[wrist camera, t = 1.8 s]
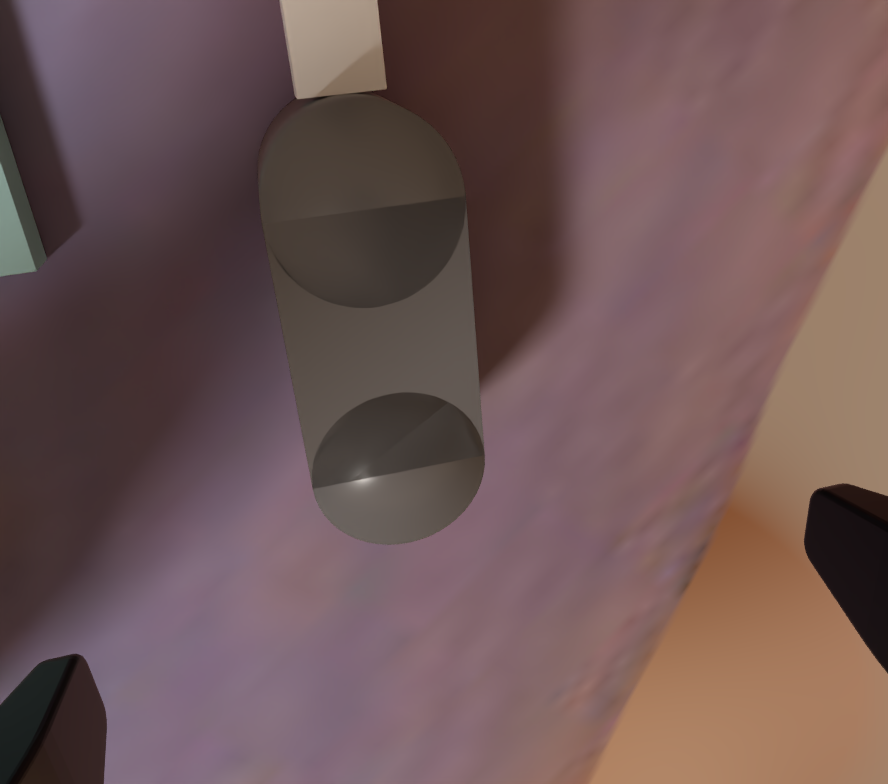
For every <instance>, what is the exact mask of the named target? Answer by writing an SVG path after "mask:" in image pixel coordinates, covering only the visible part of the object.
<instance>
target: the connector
mask: <svg viewBox="0 0 888 784" xmlns="http://www.w3.org/2000/svg"><path fill="white" fill-rule="evenodd" d="M279 1H280V8H281V14H282V20H283V26H284V32H285V39H286V45H287V51H288V57H289V63H290V70H291V76H292V82H293V88H294V94H295V97H296V99H294V100H293V101H291V102H290V103H289V104H287V105H286V106H285V107H284V108H283V109H282V110H281V111H280V112H279V113H278V115H277V116H276V117H275V118H274V119H273V121H272V122H271V124H270V126H269V127H268V129H267V131H266V133H265V136H264V138H263V140H262V143H261V147H260V151H259V156H258V167H257V176H258V189H259V202H260V213H261V221H262V228H263V233H264V238H265V243H266V248H267V254H268V259H269V264H270V269H271V274H272V280H273V285H274V290H275V295H276V300H277V305H278V311H279V316H280V321H281V326H282V331H283V337H284V342H285V347H286V352H287V357H288V363H289V368H290V373H291V378H292V383H293V389H294V394H295V399H296V404H297V409H298V414H299V420H300V425H301V430H302V435H303V440H304V446H305V451H306V456H307V461H308V466H309V472H310V477H311V482H312V487H313V491H314V495H315V499H316V501H317V503H318V505H319V507H320V509H321V511H322V512H323V514H324V515H325V516H326V518H327V519H328V520H329V521H330V522H331V523H332V524H333V525H334V526H336V527H337V528H338V529H339V530H341V531H342V532H344V533H346V534H347V535H349V536H351V537H354V538H356V539H359V540H362V541H365V542H369V543H375V544H386V545H391V544H403V543H409V542H413V541H417V540H420V539H423V538H426V537H428V536H431V535H433V534H435V533H436V532H438V531H440V530H442V529H443V528H445V527H446V526H448V525H449V524H451V523H452V522H453V521H454V520H456V519H457V518H458V517H459V516H460V515H461V514H462V513H463V512H464V511H465V509H466V508H467V507H468V506H469V504H470V503H471V502H472V500H473V498H474V497H475V495H476V493H477V491H478V489H479V486H480V484H481V480H482V477H483V472H484V465H485V454H484V440H483V427H482V413H481V399H480V385H479V372H478V358H477V344H476V330H475V317H474V303H473V289H472V275H471V262H470V248H469V234H468V220H467V207H466V194H465V187H464V181H463V178H462V174H461V170H460V168H459V165H458V163H457V160H456V158H455V156H454V154H453V153H452V151H451V149H450V147H449V146H448V144H447V143H446V142H445V140H444V139H443V138H442V136H441V135H440V134H439V133H438V132H437V131H436V130H435V129H434V128H433V127H432V126H431V125H430V124H429V123H427V122H426V121H425V120H423V119H422V118H421V117H419V116H418V115H416V114H414V113H412V112H410V111H409V110H407V109H405V108H403V107H401V106H399V105H397V104H395V103H393V102H391V101H389V100H387V99H385V98H383V97H381V96H379V95H377V94H375V93H373V92H370V91H375V90H384V89H387V84H386V75H385V66H384V57H383V48H382V39H381V30H380V21H379V12H378V3H377V0H279Z"/></svg>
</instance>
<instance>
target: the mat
mask: <svg viewBox="0 0 888 784" xmlns="http://www.w3.org/2000/svg"><path fill="white" fill-rule="evenodd" d="M46 260H47V257H46V254H45V251H44V248H43V245H42V242H41V239H40V236H39V232H38V229H37V226H36V223H35V220H34V217H33V214H32V211H31V208H30V205H29V202H28V199H27V195H26V192H25V189H24V186H23V183H22V180H21V177H20V174H19V171H18V168H17V165H16V161H15V158H14V155H13V152H12V149H11V146H10V143H9V140H8V137H7V134H6V131H5V128H4V124H3V121H2V118H1V115H0V276H7V275H14V274H21V273H28V272H35V271H37V270H38V269H39V268H40V267H41V266H42V265H43V263H44V262H45V261H46Z"/></svg>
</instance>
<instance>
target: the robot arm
mask: <svg viewBox="0 0 888 784" xmlns="http://www.w3.org/2000/svg"><path fill="white" fill-rule="evenodd" d="M804 545H805V550H806V553H807V556H808V558H809V560H810V561H811V563H812V564H813V566H814V568H815V569H816V571H817V572H818V574H819V575H820V576H821V578H822V579H823V581H824V583H825V584H826V586H827V587H828V589H829V590H830V591H831V593H832V594H833V596H834V598H835V599H836V600H837V602H838V603H839V605H840V607H841V608H842V610H843V611H844V612H845V614H846V616H847V617H848V618H849V620H850V622H851V623H852V624H853V626H854V627H855V629H856V630H857V632H858V633H859V635H860V636H861V638H862V639H863V641H864V642H865V644H866V645H867V647H868V648H869V649H870V651H871V652H872V654H873V655H874V656H875V658H876V659H877V660H878V662H879V663H880V664H881V666H882V667H883V668H884V669H885V671H886V672H887V673H888V496H885V495H882V494H879V493H876V492H872V491H869V490H866V489H863V488H860V487H857V486H854V485H850V484H837V485H832V486H828V487H823V488H819V489H817V490H816V491H814V493H813V494H812V496H811V498H810V504H809V510H808V517H807V523H806V530H805V538H804ZM106 733H107V719H106V711H105V707H104V704H103V701H102V699H101V696H100V694H99V691H98V689H97V686H96V684H95V681H94V679H93V676H92V674H91V671H90V669H89V666H88V664H87V662H86V660H85V659H84V658H83V656H81V655H79V654H71V655H67V656H62V657H57V658H53V659H48V660H45V661H43V662H41V663H39V664H38V665H37V666H36V667H35V668H34V669H33V670H32V671H31V672H30V673H29V674H28V675H27V677H26V678H25V679H24V680H23V681H22V682H21V683H20V684H19V685H18V686H17V687H16V688H15V689H14V691H13V692H12V693H11V694H10V695H9V696H8V697H7V698H6V699H5V700H4V701H3V702H2V704H1V705H0V784H104V768H105V751H106Z"/></svg>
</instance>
